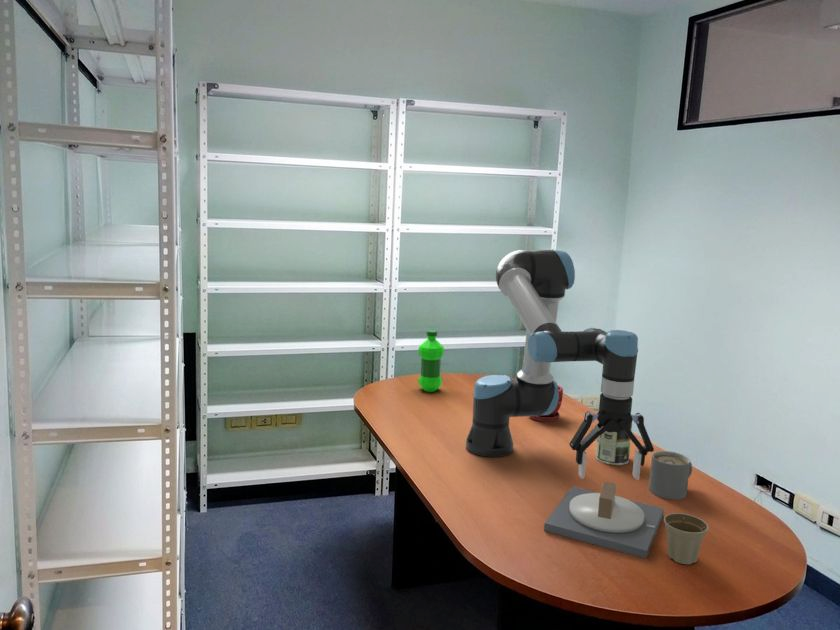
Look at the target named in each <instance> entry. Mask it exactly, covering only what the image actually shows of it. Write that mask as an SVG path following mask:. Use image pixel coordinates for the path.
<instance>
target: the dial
mask: <svg viewBox="0 0 840 630" xmlns="http://www.w3.org/2000/svg"><path fill="white" fill-rule="evenodd" d="M616 489H617V483H614V482H610V481H603V484H602V488H601V491H600V492H597V493H587V494H581V495H578V496H576V497H574V498H573V499H572V500H571V501H570V506H569V512H570V514H571V516H572V517H573V518H574V519H575V520H576V521H577V522H579V523H581V524H582V525H584V526H587V527H589V528H592V529H595V530H599V531H604V532H610V533H626V532H632V531H635V530H637V529H639V528H640V527H642V525H643V523H644V512H643V510H642V509H641V508H640V507H639V506H638V505H636V504H635V503H633V502H631V501H632V500H631V501H629V500H630V499H627V498H624V497H622V496H618V495H616Z"/></svg>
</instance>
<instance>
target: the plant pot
mask: <svg viewBox="0 0 840 630" xmlns="http://www.w3.org/2000/svg"><path fill="white" fill-rule="evenodd" d="M558 389H559V390H558V393H559V399H558V403H557V406H556V408H555V410H554V411H553V412H552V413H550V414H549V415H542V416H529V418H531V419H533V420H535V421H539V422H548V423H550V422H552V421H553V422H554V421H556V420H558V419H559V418H560V412H559V410H560V409H561V407H562V402H563V394H564V388H563V387H562V386H560V385H558Z"/></svg>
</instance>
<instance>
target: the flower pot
mask: <svg viewBox="0 0 840 630" xmlns="http://www.w3.org/2000/svg"><path fill="white" fill-rule="evenodd" d="M663 522H664V525H665V529H666V542H667V556H668V558H669V559H670V560H671V559H672V560H673V561H674V562H675V563H679V564H683V565H691V564H696V563H697V562H698V559H699V554H700V551H701V547H702V542H703V539H704V537H706V536H705V535H706V533H707V532H708V531H709V525H708V523H707V522H706V521H704V520H703V519H702V518H699V517H698V516H695V515H692V514H688V513H681V512H671V513H668V514H666V515H664V516H663Z"/></svg>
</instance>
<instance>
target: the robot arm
mask: <svg viewBox="0 0 840 630" xmlns="http://www.w3.org/2000/svg"><path fill="white" fill-rule="evenodd" d="M500 260H501V261H499V263H498V265H497V267H496V271H495V281H496V282H495V283H496V285H497V287H498V289H499V290H500V292H501V293H502V295H504V296H506V297H507V298H508V299H509V301H510V303H511V305H512V307H513V308H514V309H515V312H516V314H517V315H518V317H519V319H520V321H521V323H522V324H523V326H524V327H525V329H526V335H525V343H524V350H523V351H524V352H523V358H522V359H523V361H522V362H523V363H522V368H521V369H520V370H518V371H517V373H516V379H515V380H514V379H513V380H512V378H511V377H510V376H509V375H505V374H501V375H500V374H491V375H490V374H489V375H485V376H482V377H480V378H478V379H477V380H476V381H475V384H474V388H473V393H472V396H473V400H472V401H473V405H472V407H473V408H472V423H471V427H470V429H469V432H468V434H467V437H466V441H465V447H466V450H467V451H469V452H470V453H471V454H474V455H478V456H480V457H489V458H492V457H493V458H499V457H505V456H509V455H510V454H512V453H513V451H514V441H513V437H512V434H511V433H512V432H511V429H510V418H518V417H521V418H522V417H530V416H542V415H549V414H550V413H552V412H553V411H554V410H555V408H556V406H557V403H558V399H559V393H558V390H559V389H558V386H559V385H558V384H557V383H558V382H557V381H556V380H555V377H554V375H553V374H552V373H551V372H550V370H551V366H552V363H559V362H561V363H565V362H566V363H567V362H597V363H599V364H601V365H602V373H601V383H600V395H599V404H598V411H597V413H591V412H590V411H586V412H585V414H584V419H583V421H582V422H581V423H580V426H579V427H578V429H577V430H576V432H575V434H574V435H573V437H572V439H571V440H570V442H569V447H570V448H571V450H572V451H576V453H575V455H576V456H575V461H576V464H577V465H578V473H577V474H578V476H579V477H580V479H585V473H586V465H587V452H586V450H587V449H588V448H589V447H590V446H591V445H592V444H593V443H594V442H595V441H597V438H598V437H599V436H600V435H601V434H603V433H604V432H605V431H607V432H617V433H621V432H622V431H623V430H624V431H625V433H626V434H627V435H628V437H629V438H630V439H631V442H632V443H633V444H634V446H635V447H636V449H637V450H636V449H635V450H634V456H633V465H632V466H633V467H632V473H631V475H632V476H633V478H634V479H635V480H640V473H641V466H642V467H643V466H645V461H646V456H647V455H648V454H649V452H650V453H652V452H653V453H654V450H655V448H654V446H653V443H652V441H651V439H650V436H649V434H648V432H647V429H646V426H645V418H644V416H643V415H642V414H641V413H640V412H636V413H635V414H632V408H633V407H632V406H633V395H634V386H635V375H636V370H637V368H636V367H637V359H638V353H639V349H638V348H639V347H638V345H639V344H638V343H639V342H638V341H639V338H638V335H637V334H636V333H634V332H633V331H627V330H620V329H612V330H609V331H605V330H603V329H601V328H597V327H596V328H595V327H589V328H586V329H585V330H581V331H580V330H579V331H562V329H561V328H560V326H559V325H558V323H557V318H558V316H557V315H558V310H559V309H558V308H559V303H560V301H561V300H562V299H563V298H565V296H566V295H565V294H566V290H569V289H572V287H573V285H574V284H575V278H576V272H575V271H576V270H575V265H574V262H573V259H572V257H571V256H570V254H569V253H567V251H564V250H557V249H556V250H554V249H518V250H517V249H516V250H514V251H511V252H509V253H508V254H506V255H505V256H504V257H503V258H502V259H500ZM596 420H597V421H599V422H597V423H596V425H595V426H594V427H593V428H592V430H591V431H590V432H589V433H588V431H589V429H590V427H591V426H592V423H595V421H596ZM632 420H633V421H632ZM631 421H632V422H634V424H636V427H637V430H638V431H639V433H640V436H641V439H642V442H643V444H644V445H643V444H642V443H641V442H640V441H639V440H638V438H637V437H636V436H635V435H634V433H633V432H632V429H631V430H630V429H629V428H628V425H629V423H630V422H631Z"/></svg>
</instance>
